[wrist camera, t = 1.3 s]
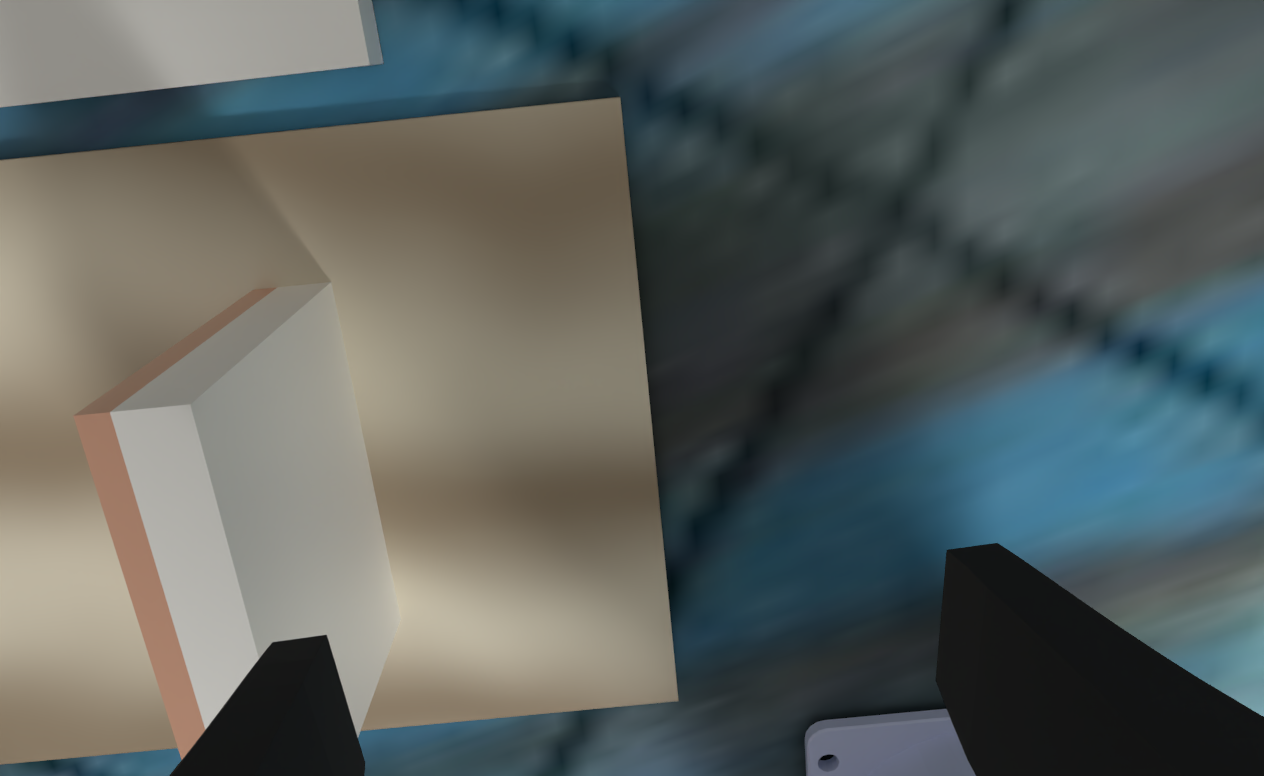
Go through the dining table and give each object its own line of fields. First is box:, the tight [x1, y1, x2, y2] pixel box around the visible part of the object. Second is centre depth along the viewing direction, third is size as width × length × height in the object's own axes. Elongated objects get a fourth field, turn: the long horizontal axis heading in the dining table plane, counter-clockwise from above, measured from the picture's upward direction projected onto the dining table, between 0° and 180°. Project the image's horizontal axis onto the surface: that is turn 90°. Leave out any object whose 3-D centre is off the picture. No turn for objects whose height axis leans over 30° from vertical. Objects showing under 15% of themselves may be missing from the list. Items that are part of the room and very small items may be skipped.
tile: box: [73, 282, 401, 759], centre depth 18 cm, size 8×2×7 cm, turn 5°
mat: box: [0, 97, 678, 765], centre depth 21 cm, size 14×18×1 cm
